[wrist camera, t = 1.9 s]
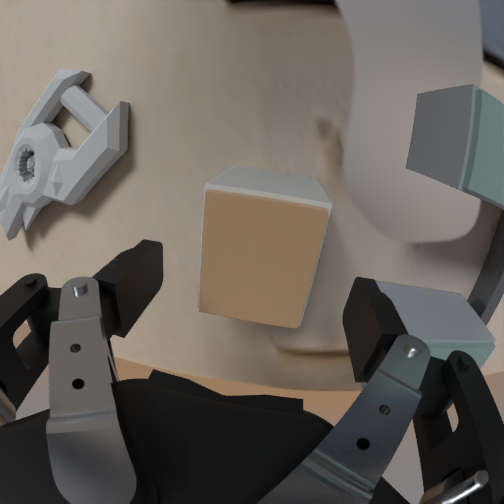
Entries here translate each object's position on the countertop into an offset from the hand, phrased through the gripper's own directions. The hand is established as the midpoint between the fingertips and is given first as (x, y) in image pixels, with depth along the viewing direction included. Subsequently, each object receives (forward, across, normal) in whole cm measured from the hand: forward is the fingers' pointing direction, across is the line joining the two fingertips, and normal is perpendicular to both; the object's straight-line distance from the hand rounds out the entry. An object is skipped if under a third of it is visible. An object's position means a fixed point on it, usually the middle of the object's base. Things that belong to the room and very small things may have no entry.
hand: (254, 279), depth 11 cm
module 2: (+7, -12, -8) cm, 16 cm away
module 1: (+7, 0, 0) cm, 7 cm away
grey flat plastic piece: (+7, +18, -3) cm, 20 cm away
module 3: (+7, -12, +5) cm, 15 cm away
